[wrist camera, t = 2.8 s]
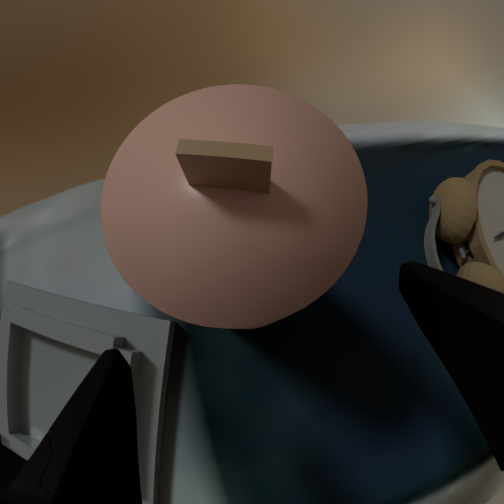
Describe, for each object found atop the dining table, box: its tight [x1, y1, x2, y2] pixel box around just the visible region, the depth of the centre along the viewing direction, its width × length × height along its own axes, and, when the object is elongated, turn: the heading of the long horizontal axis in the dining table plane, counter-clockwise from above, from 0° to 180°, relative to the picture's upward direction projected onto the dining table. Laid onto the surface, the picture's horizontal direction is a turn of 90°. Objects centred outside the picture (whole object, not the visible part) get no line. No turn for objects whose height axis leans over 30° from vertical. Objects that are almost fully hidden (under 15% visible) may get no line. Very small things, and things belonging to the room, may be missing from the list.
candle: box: [101, 84, 368, 329], centre depth 12 cm, size 6×6×14 cm
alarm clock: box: [424, 160, 504, 294], centre depth 17 cm, size 11×5×15 cm
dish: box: [0, 281, 176, 504], centre depth 15 cm, size 14×14×3 cm
